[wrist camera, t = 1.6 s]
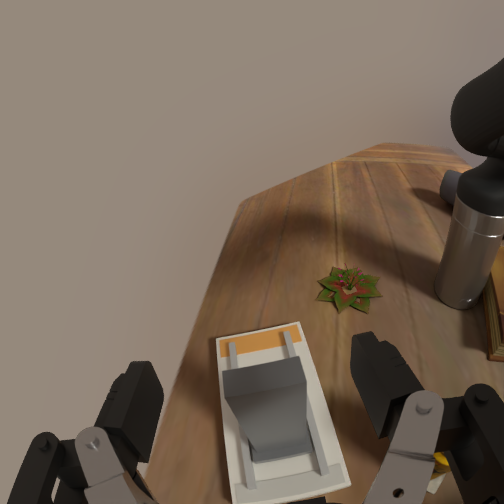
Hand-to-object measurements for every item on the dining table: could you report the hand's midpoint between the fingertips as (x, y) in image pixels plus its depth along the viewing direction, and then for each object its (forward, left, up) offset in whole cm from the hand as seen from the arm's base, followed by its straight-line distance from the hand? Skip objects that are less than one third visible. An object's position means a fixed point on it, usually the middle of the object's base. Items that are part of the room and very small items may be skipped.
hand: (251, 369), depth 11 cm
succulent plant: (-30, -4, -25) cm, 39 cm away
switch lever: (-3, -2, -22) cm, 22 cm away
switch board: (-6, -5, -24) cm, 25 cm away
